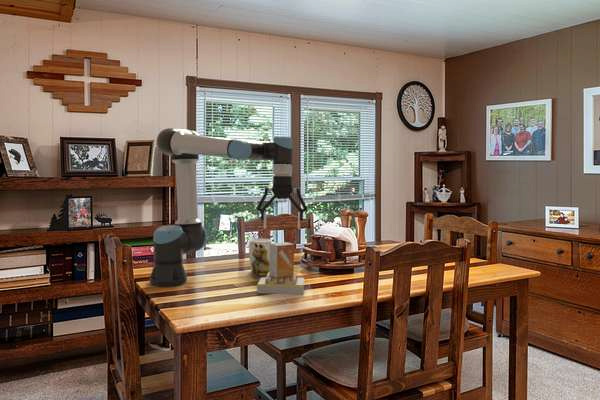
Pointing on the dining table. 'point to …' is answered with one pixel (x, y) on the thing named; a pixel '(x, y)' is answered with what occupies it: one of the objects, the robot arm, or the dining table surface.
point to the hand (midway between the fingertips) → (281, 228)
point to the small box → (281, 260)
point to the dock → (281, 287)
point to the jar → (259, 241)
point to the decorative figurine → (260, 261)
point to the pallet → (281, 279)
